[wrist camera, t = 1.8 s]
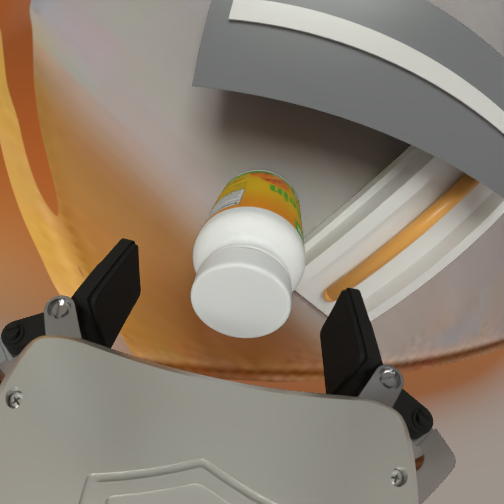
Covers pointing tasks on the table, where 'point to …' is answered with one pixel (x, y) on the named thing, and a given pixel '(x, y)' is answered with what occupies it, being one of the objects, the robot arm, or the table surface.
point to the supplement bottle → (249, 256)
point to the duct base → (396, 233)
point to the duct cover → (368, 71)
